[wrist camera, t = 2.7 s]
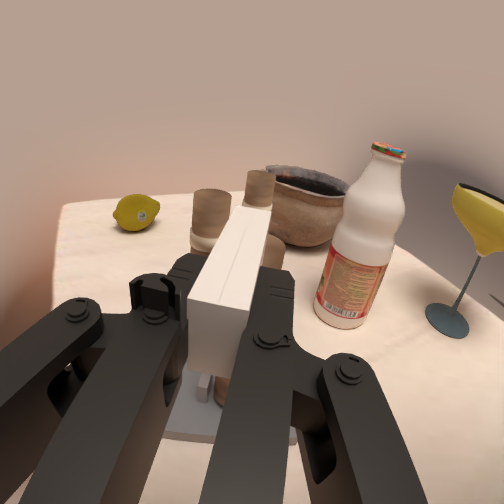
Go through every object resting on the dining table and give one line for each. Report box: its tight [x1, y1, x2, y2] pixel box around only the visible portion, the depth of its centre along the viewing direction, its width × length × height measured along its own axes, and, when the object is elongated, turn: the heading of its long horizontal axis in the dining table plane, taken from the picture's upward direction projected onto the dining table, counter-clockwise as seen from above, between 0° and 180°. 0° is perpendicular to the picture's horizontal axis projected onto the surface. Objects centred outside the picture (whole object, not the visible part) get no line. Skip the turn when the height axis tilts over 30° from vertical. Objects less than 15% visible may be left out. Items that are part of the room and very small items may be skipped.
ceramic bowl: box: [261, 165, 350, 247], centre depth 70 cm, size 22×22×15 cm
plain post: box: [214, 234, 286, 406], centre depth 26 cm, size 4×4×18 cm
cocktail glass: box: [425, 183, 504, 338], centre depth 45 cm, size 18×18×25 cm
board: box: [162, 360, 298, 445], centre depth 40 cm, size 16×32×5 cm, turn 2°
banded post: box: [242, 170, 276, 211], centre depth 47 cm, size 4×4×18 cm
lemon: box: [113, 194, 160, 231], centre depth 64 cm, size 11×8×8 cm
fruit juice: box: [314, 142, 406, 329], centre depth 44 cm, size 9×9×28 cm
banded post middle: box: [190, 189, 232, 257], centre depth 37 cm, size 4×4×18 cm
